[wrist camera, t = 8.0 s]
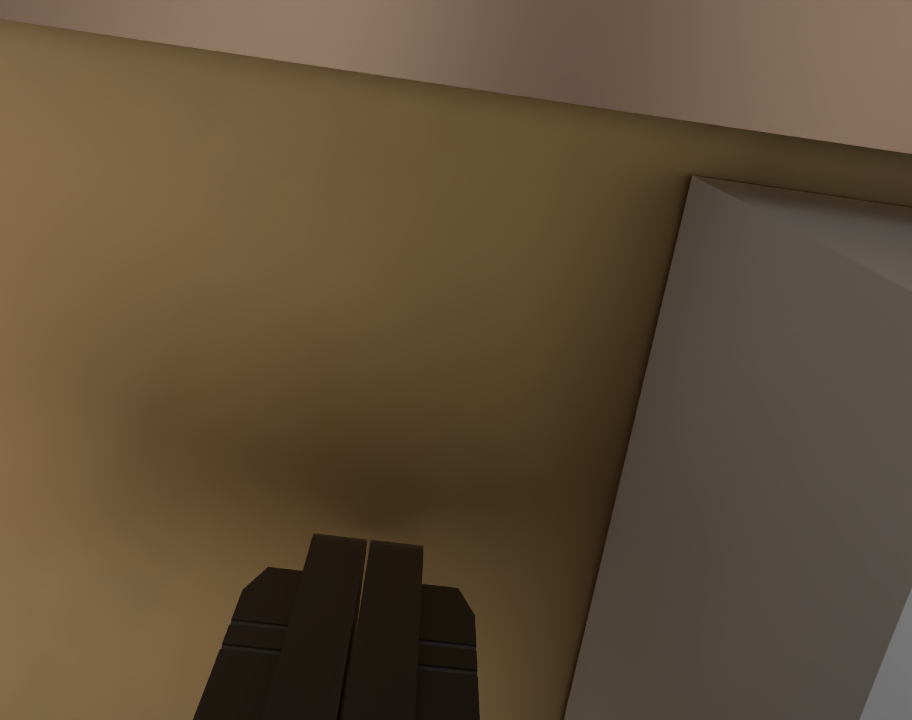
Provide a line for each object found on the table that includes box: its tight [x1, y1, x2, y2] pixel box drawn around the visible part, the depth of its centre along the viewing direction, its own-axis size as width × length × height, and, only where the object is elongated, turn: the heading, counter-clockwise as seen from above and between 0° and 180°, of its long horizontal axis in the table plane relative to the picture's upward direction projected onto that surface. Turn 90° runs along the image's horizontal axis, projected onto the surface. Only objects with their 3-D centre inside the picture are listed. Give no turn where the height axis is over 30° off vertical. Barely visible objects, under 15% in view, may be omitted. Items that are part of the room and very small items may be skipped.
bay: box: [0, 0, 912, 154], centre depth 12 cm, size 25×17×3 cm, turn 82°
